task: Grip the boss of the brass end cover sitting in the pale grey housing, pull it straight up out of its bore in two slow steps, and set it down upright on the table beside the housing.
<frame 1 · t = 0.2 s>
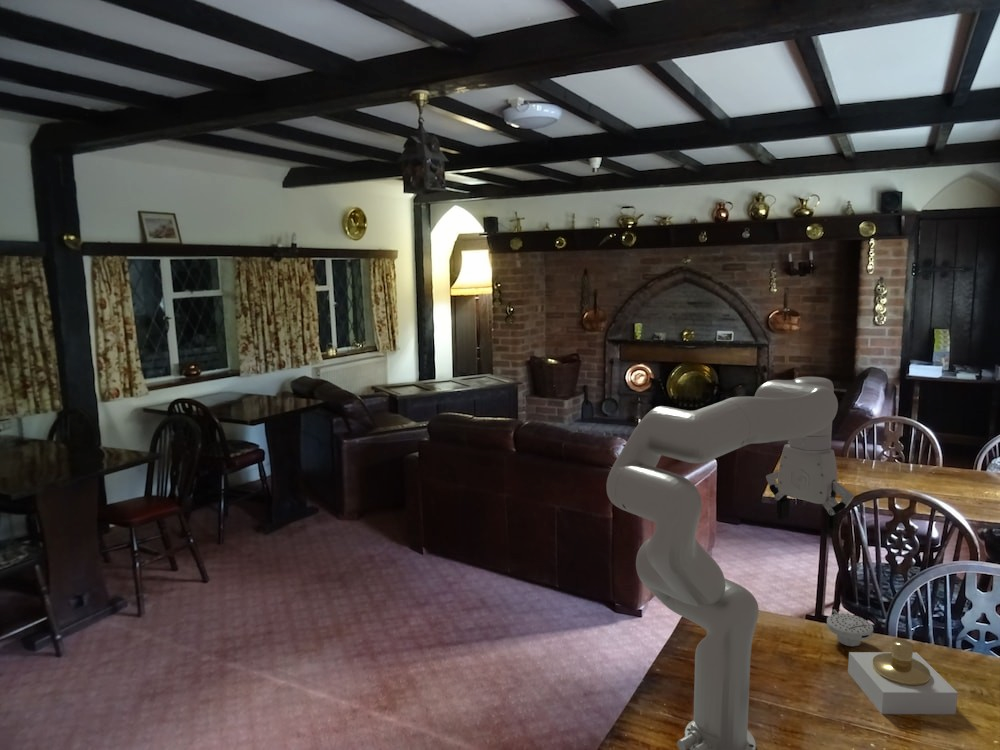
hand: (805, 525, 136), 37 cm above the table, tool pointing down, fingers open, 9 cm apart
end cover: (899, 691, 140), point 1 cm above the table, touching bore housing
showerhead: (847, 649, 159), on the table
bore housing: (898, 698, 140), on the table
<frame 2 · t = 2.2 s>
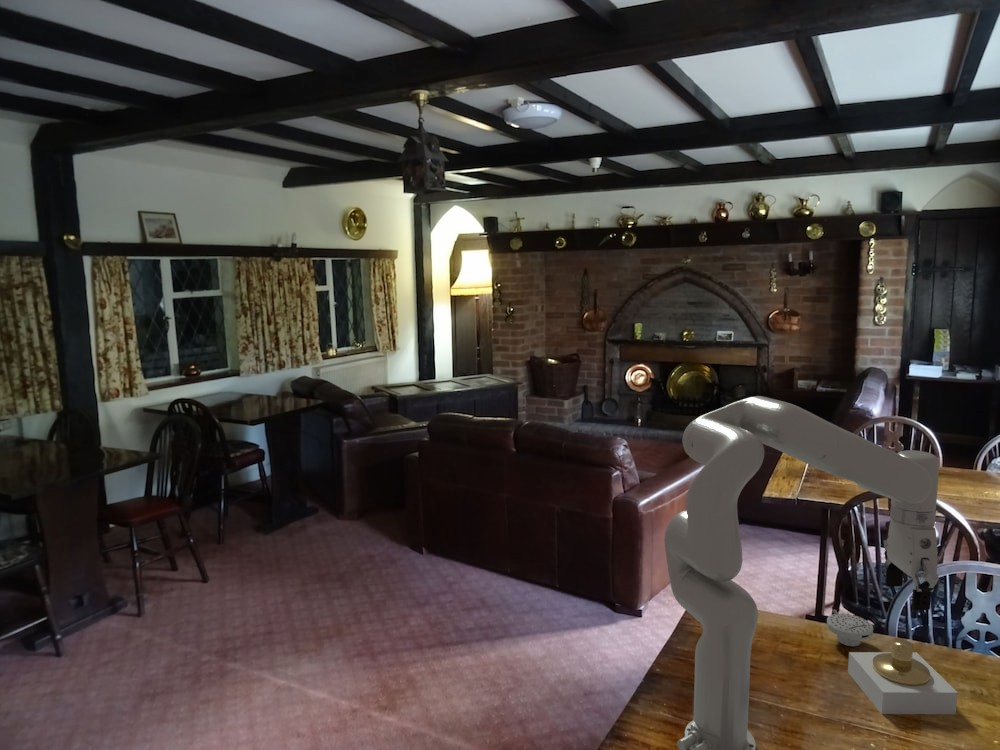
hand: (906, 597, 137), 22 cm above the table, tool pointing down, fingers open, 9 cm apart
nothing on the table moved.
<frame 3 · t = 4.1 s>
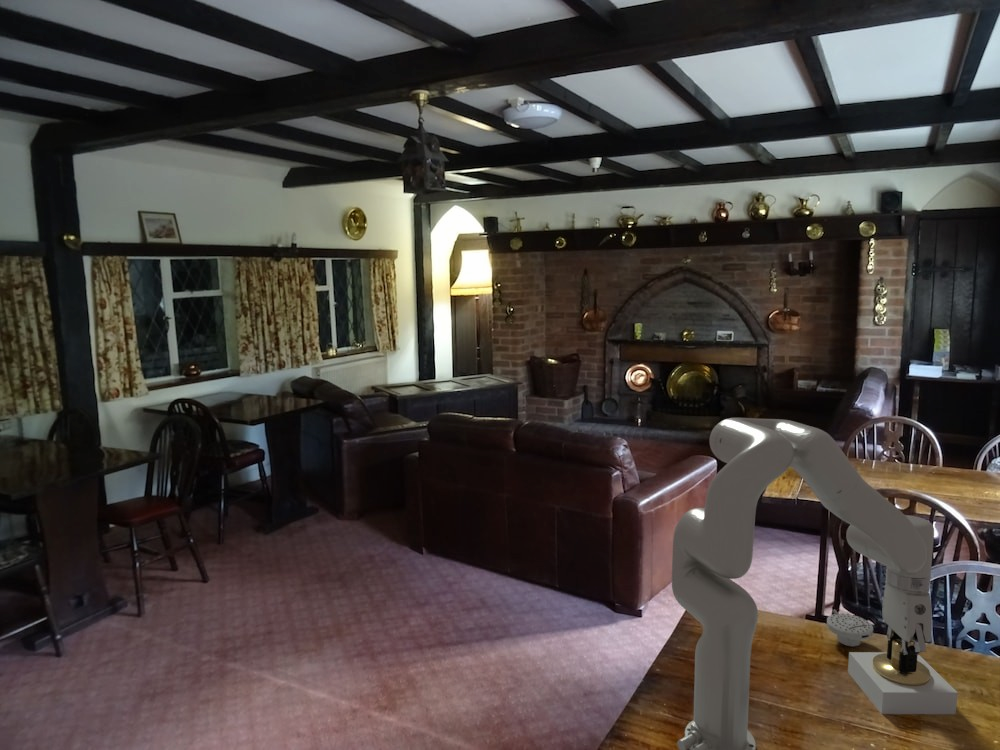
hand: (901, 664, 139), 8 cm above the table, tool pointing down, fingers closed on end cover, 3 cm apart
end cover: (899, 691, 140), point 2 cm above the table, touching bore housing, gripper
everything else where it was.
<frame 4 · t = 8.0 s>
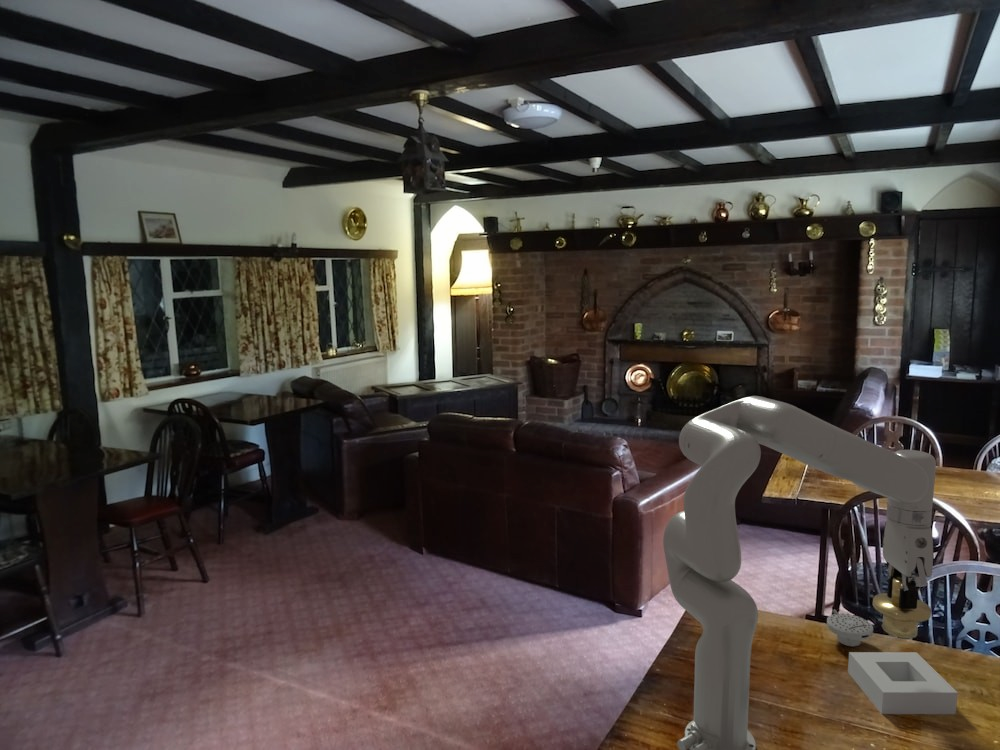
hand: (901, 602, 137), 21 cm above the table, tool pointing down, fingers closed on end cover, 3 cm apart
end cover: (899, 630, 138), point 15 cm above the table, touching gripper
everything else where it was.
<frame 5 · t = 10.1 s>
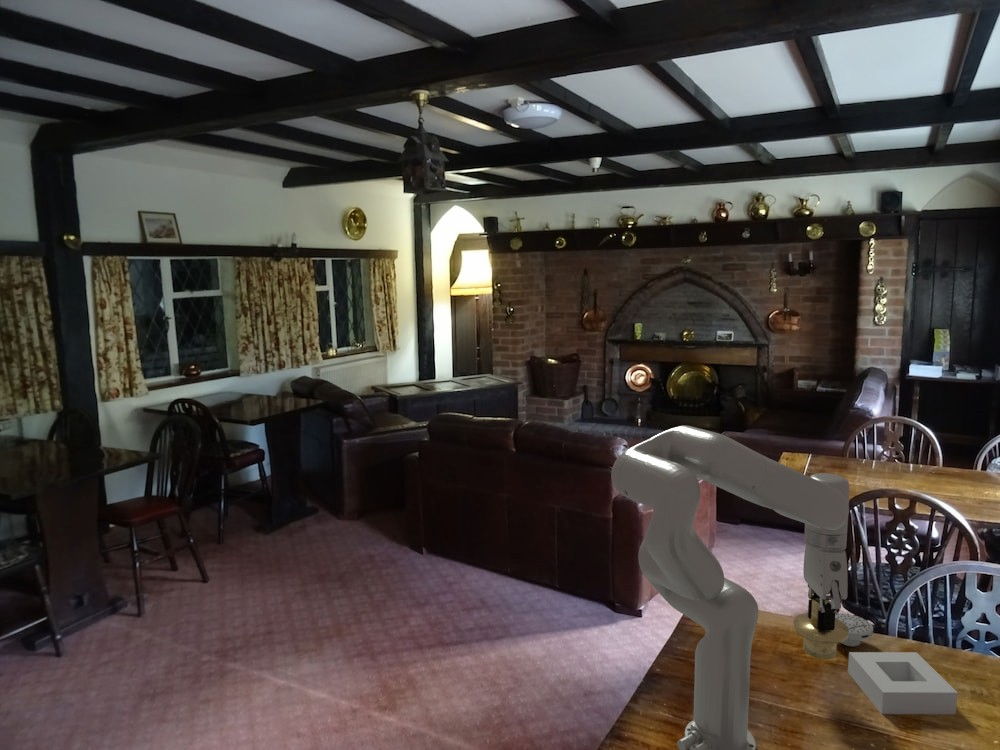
hand: (820, 623, 138), 16 cm above the table, tool pointing down, fingers closed on end cover, 3 cm apart
end cover: (819, 650, 139), point 10 cm above the table, touching gripper
everything else where it was.
when the fingers open (7 cm above the table, at t = 11.9 s): end cover drops 1 cm, on the table.
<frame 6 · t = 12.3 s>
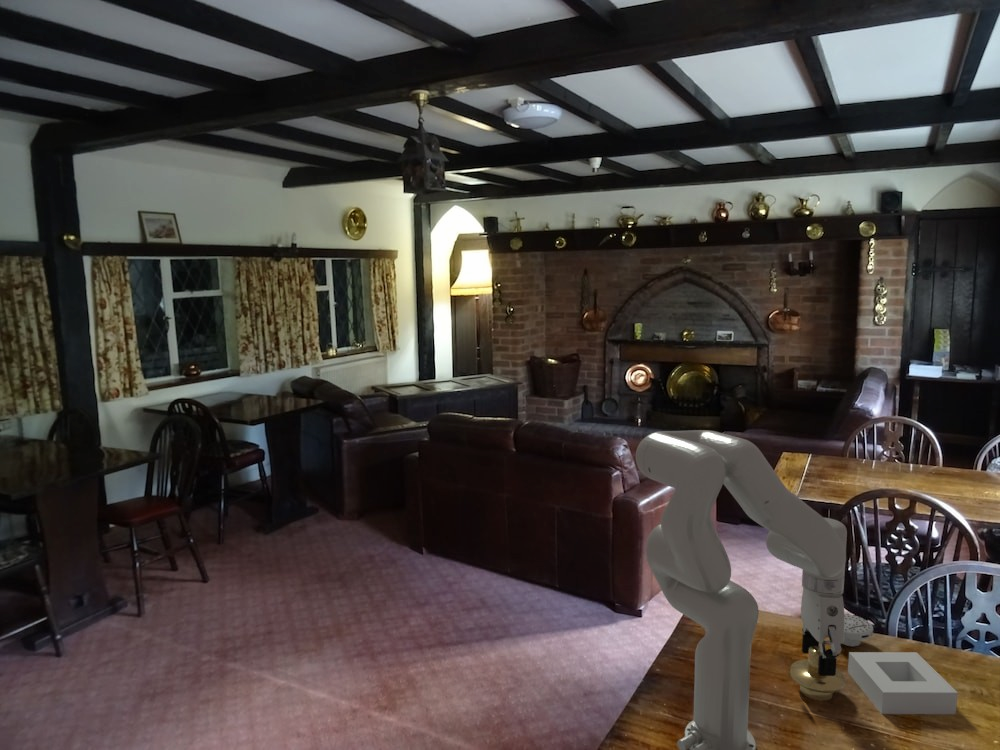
hand: (818, 663, 140), 8 cm above the table, tool pointing down, fingers open, 7 cm apart
end cover: (815, 698, 141), on the table
everything else where it was.
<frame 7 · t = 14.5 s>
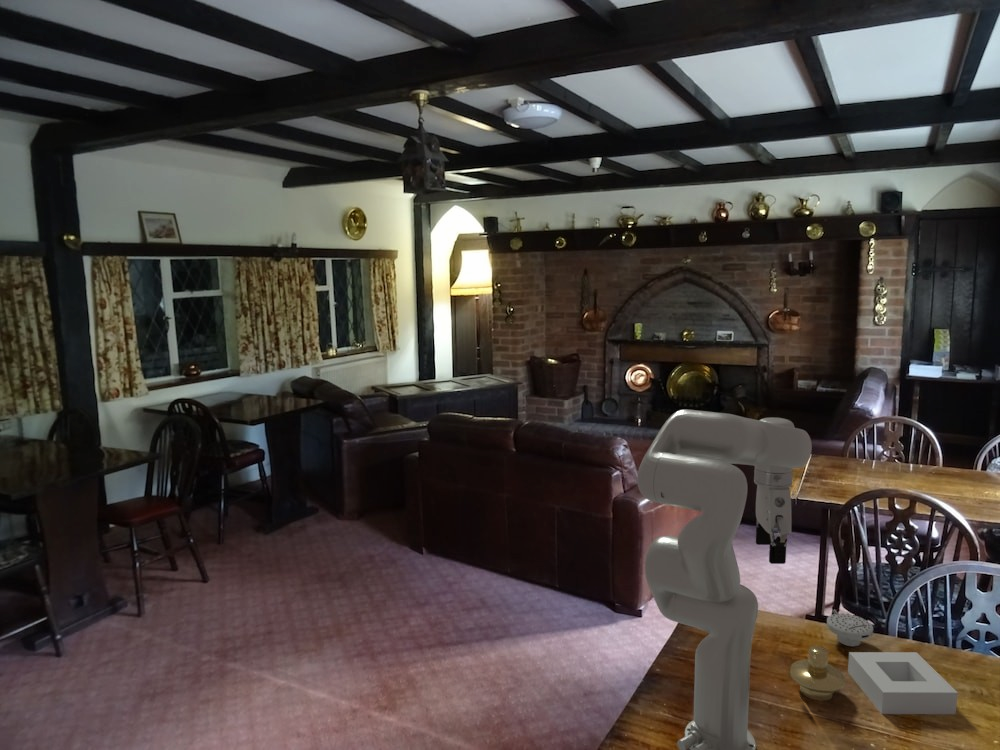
hand: (770, 553, 149), 26 cm above the table, tool pointing down, fingers open, 9 cm apart
nothing on the table moved.
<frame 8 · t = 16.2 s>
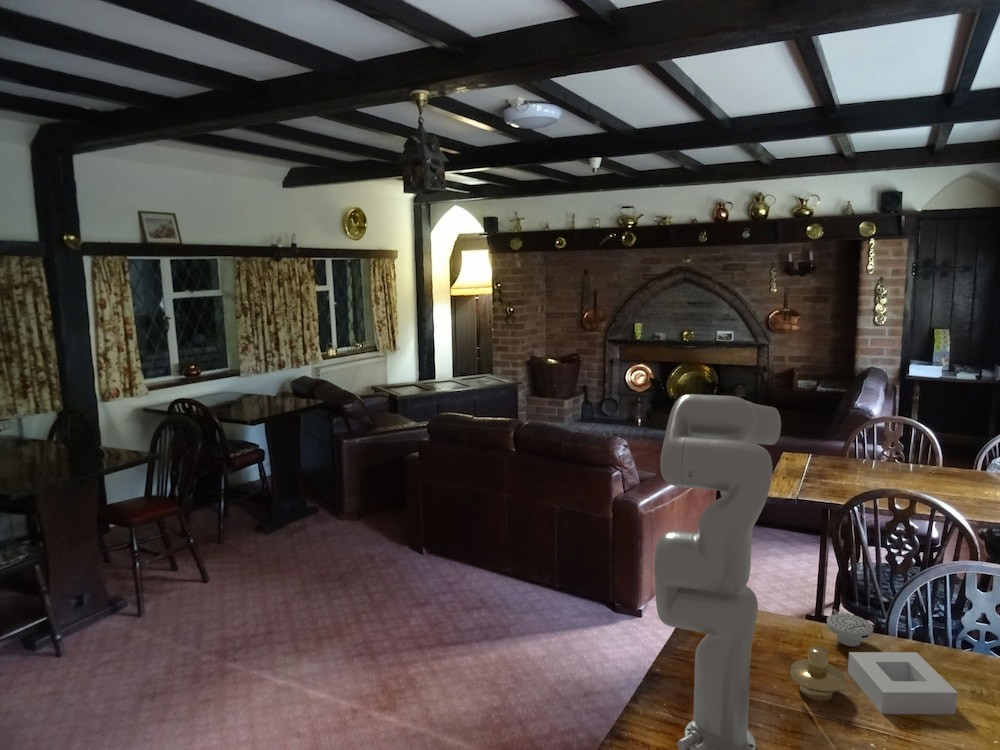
hand: (734, 528, 157), 28 cm above the table, tool pointing down, fingers open, 9 cm apart
nothing on the table moved.
at the end: end cover touching table; end cover inside the target area (0.1 cm from its centre), on the table; end cover tilted 0° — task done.
